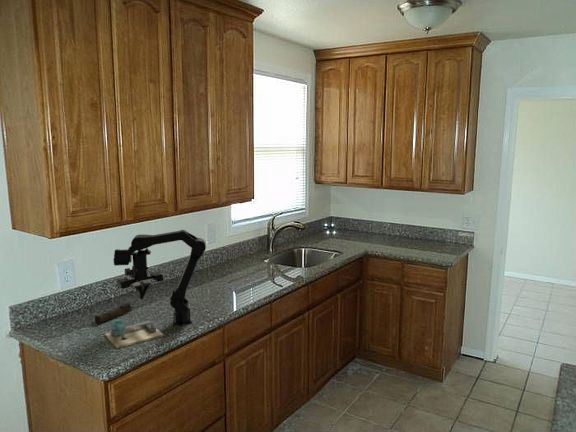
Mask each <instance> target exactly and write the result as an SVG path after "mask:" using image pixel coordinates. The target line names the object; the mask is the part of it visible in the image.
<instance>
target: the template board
mask: <svg viewBox="0 0 576 432" xmlns="http://www.w3.org/2000/svg"><path fill="white" fill-rule="evenodd" d="M104 335H105V337H106V338H107V339H108V341H110V342H111V344H112V345H113V346H114V347H115V348H116V349H117V348H118V349H120V348H124V346H125V347H128V345H129V346H132V345H135V344H139V343H143V341H144V342H147V341H151V340H154V339H158V338H161V337H164V333H162V332H161V331H160V330H159V329H157V327H156V332H152V333H150V332H149V331H148V330H147V329H146V328H144V329H140V330H136V331H132V332H128V333H125V334H124V338H123V339H122V334H121V335H117V336H112V337H111V336H110V333H109V332H106V333H105V334H104Z"/></svg>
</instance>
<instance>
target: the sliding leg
mask: <svg viewBox="0 0 576 432" xmlns="http://www.w3.org/2000/svg"><path fill="white" fill-rule="evenodd" d="M110 325H111V326H110V327H111V328H110V329H111V330H114V336H117V335H121V334H122V339H123V338H124V334H125V329H126V326H127V325H125V321H123V320H122V318H118V319H114V320H110Z"/></svg>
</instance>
